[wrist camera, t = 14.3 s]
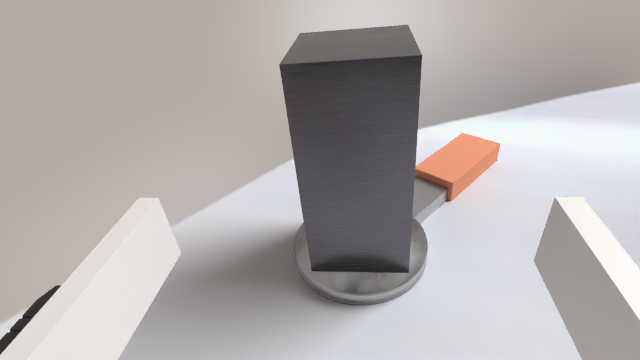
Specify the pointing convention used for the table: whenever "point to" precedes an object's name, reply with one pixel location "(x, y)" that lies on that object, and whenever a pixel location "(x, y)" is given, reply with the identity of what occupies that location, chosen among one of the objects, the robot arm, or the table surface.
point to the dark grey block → (355, 144)
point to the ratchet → (429, 194)
